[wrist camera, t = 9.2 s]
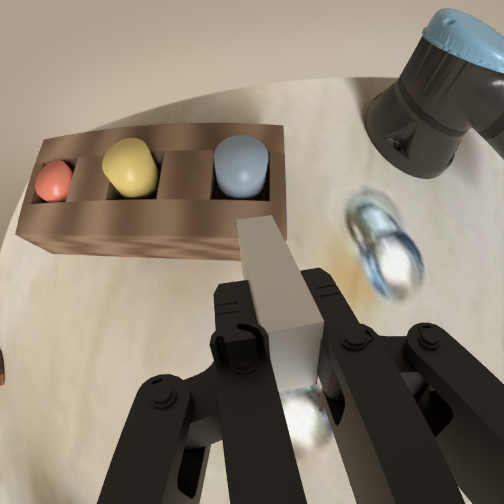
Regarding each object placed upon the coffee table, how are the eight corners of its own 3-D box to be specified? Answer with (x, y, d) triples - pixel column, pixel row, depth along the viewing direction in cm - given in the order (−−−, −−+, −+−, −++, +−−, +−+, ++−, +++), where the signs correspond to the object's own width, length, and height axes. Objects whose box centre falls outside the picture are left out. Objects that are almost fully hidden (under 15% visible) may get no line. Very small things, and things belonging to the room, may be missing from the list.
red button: (88, 177, 30) (71, 157, 25) (80, 212, 29) (60, 195, 24) (60, 180, 30) (41, 162, 25) (51, 213, 29) (30, 198, 24)
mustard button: (163, 162, 28) (153, 136, 24) (157, 202, 27) (143, 179, 22) (123, 164, 28) (108, 139, 23) (115, 202, 27) (97, 181, 22)
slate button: (264, 163, 28) (268, 135, 24) (264, 204, 27) (268, 180, 23) (218, 162, 28) (215, 134, 24) (215, 202, 27) (211, 178, 23)
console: (275, 165, 35) (283, 125, 28) (275, 261, 32) (286, 239, 25) (71, 170, 35) (44, 139, 27) (52, 253, 31) (15, 234, 24)
